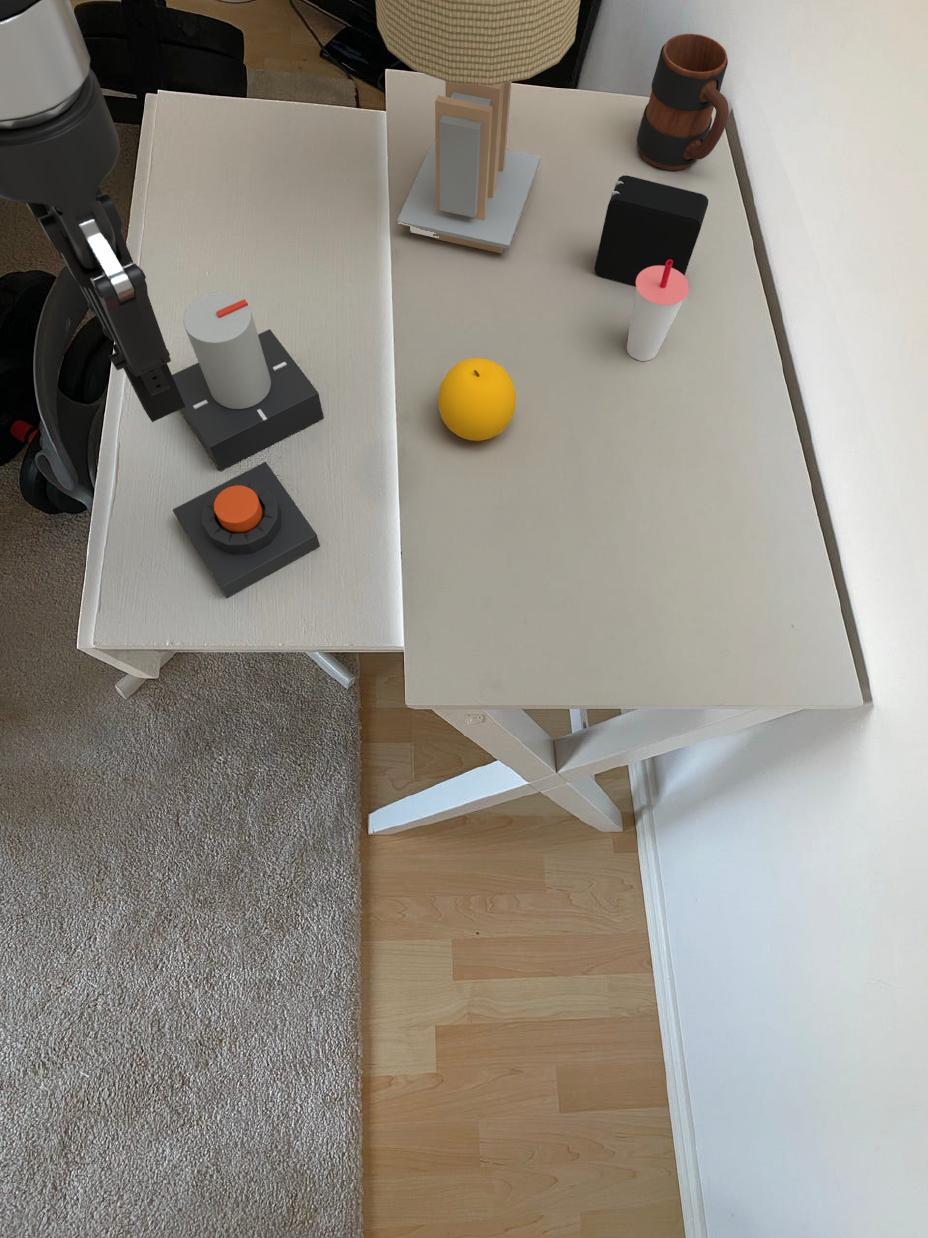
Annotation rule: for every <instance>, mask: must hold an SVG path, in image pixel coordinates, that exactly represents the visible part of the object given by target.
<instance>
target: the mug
mask: <svg viewBox="0 0 928 1238" xmlns="http://www.w3.org/2000/svg"><path fill="white" fill-rule="evenodd" d="M728 63H729V59H728V54H727V51H726V49H725V48H724V47H723V46H722V45H721V43H720V42H718V41H716V40H715V39H713V38H712V37H708V36H706V35H703V34H697V33H682V34H681V33H680V34H677V35H675V36H672V37H670V38H669V39H667V41H666V42H665V43H664V44H663V45H662V47H661V49H660V52H659V57H658V61H657V64H656V68H655V70H654V75H653V77H652V81H651V91H650V96H649V100H648V103H647V104H646V105H645V108H644V111H643V114H642V117H641V120H640V124H639V128H638V131H637V136H636V145H637V148H638V150H639V153H640V155H641V156H642V158H643V159H644V160H645V161H646V162H647V163H649V164H650V165H652V166H654V167H657V168H658V169H662V170H667V171H668V170H669V171H677V170H678V171H679V170H683V169H686V168H689V167H690V166H692V165H693V164H695V163H696V161H698V160H703V159H705V158H706V157H708V156H709V155H710V154H711V153H712V152H713V150H714V149H715V147H716V146H717V144H718V143H719V141H720V139H721V138H722V135H723V133H724V131H725V129H726V126H727V123H728V119H729V112H730V111H729V109H730V108H729V103H728V99H727V98H726V97H725V96H724V94H723V93H721V89H722V85H723V81H724V78H725V75H726V70H727V67H728ZM714 109H715V116H714V120H713V112H714ZM712 121H713V122H712Z"/></svg>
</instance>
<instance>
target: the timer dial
mask: <svg viewBox="0 0 928 1238" xmlns="http://www.w3.org/2000/svg"><path fill="white" fill-rule="evenodd" d="M182 321H183V326H184V329H185V332H186V334H187V337H188V340H189V342H190V344H191V347H192V350H193V352H194V354H195V357H196V359H197V361H198V362H199V364H200V367H201V370H202V372H203V375H204V377H205V380H206V382H207V385H208V387H209V390H210V392H211V395H212V396H213V398H214V399H215V400H216V401H217V402H218V403H219V404H221V405H222V406H224V407H227V408H231V409H244V408H249V407H252V406H254V405H256V404H258V403H259V402H261V401H262V400H263V399H264V398H265V397H266V396H267V394H268V393H269V390H270V387H271V379H270V375H269V372H268V368H267V365H266V361H265V358H264V354H263V351H262V347H261V344H260V340H259V337H258V330H257V327H256V323H255V320H254V316H253V313H252V310H251V307H250V305H249V303H248V302H247V299H245V298H243V297H241V296H239V295H237V294H235V293H230V292H224V291H217V292H216V291H215V292H210V293H206V294H204V295H201V296H199V297H197V298H196V299H194V300H193V301H192V302H191V303H190V304H189V305H188V306H187V307H186V309H185V310H184V313H183V320H182ZM198 362H197V363H198Z"/></svg>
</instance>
